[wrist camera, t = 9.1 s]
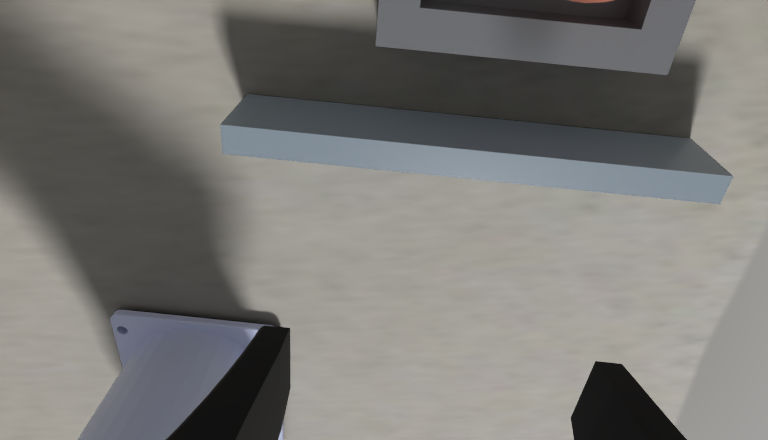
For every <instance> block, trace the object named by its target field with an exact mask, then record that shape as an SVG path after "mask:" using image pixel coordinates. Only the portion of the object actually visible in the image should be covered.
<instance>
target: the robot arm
mask: <svg viewBox="0 0 768 440" xmlns="http://www.w3.org/2000/svg"><path fill="white" fill-rule="evenodd" d="M110 321H111V325H112V329H113V332H114V336H115V340H116V344H117V347H118V351H119V355H120V359H121V362H122V366H123V369H122V371H121V372H120V374H119V375H118V377H117V378H116V380H115V382H114V383H113V385H112V386H111V388H110V389H109V391H108V393H107V394H106V396H105V397H104V399H103V400H102V402H101V404H100V405H99V407H98V408H97V410H96V411H95V413H94V415H93V416H92V418H91V419H90V421H89V422H88V424H87V426H86V427H85V429H84V430H83V432H82V434H81V435H80V437H79V438H78V440H284V415H285V410H286V405H287V401H288V396H289V391H290V328H284V327H275V326H272V325H265V324H256V323H246V322H236V321H227V320H217V319H207V318H198V317H188V316H178V315H169V314H159V313H150V312H140V311H130V310H117V311H115V312H114V314H113V315H112V316H111V318H110ZM124 327H125V328H124ZM571 422H572V428H573V435H574V440H687V439H686V438H685V437H684V436H683V435H682V434H681V433H680V432H679V430H678V429H677V428H676V427H675V426H674V425H673V423H672V422H671V421H670V420H669V419H668V418H667V417H666V415H665V414H664V413H663V412H662V411H661V410H660V408H659V407H658V406H657V405H656V404H655V403H654V401H653V400H652V399H651V398H650V397H649V395H648V394H647V393H646V392H645V391H644V390H643V388H642V387H641V386H640V385H639V384H638V382H637V381H636V380H635V379H634V378H633V377H632V375H631V374H630V373H629V372H628V371H627V370H626V369H625V367H624V366H623V365H622V364H616V363H607V362H597V361H596V362H595V364H594V366H593V368H592V371H591V373H590V375H589V378H588V380H587V382H586V384H585V387H584V389H583V391H582V394H581V396H580V398H579V401H578V403H577V405H576V407H575V410H574V412H573V414H572V417H571Z"/></svg>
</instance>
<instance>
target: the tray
mask: <svg viewBox="0 0 768 440" xmlns="http://www.w3.org/2000/svg"><path fill="white" fill-rule="evenodd" d="M695 1H696V0H613V1H608V2H599V3H581V2H574V1H568V0H379V3H378V17H377V31H376V45H375V46H378V47H388V48H399V49H409V50H419V51H429V52H439V53H449V54H459V55H469V56H479V57H489V58H499V59H509V60H519V61H529V62H539V63H549V64H559V65H569V66H580V67H590V68H600V69H610V70H620V71H630V72H640V73H650V74H660V75H668V73H669V70H670V68H671V65H672V62H673V60H674V57H675V54H676V52H677V49H678V46H679V44H680V41H681V38H682V36H683V33H684V30H685V28H686V25H687V22H688V20H689V17H690V14H691V12H692V9H693V6H694V4H695Z"/></svg>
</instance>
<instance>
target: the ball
mask: <svg viewBox="0 0 768 440" xmlns="http://www.w3.org/2000/svg"><path fill="white" fill-rule="evenodd" d="M568 1H574V2H581V3H599V2H608V1H613V0H568Z"/></svg>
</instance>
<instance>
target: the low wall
mask: <svg viewBox="0 0 768 440" xmlns="http://www.w3.org/2000/svg"><path fill="white" fill-rule="evenodd" d="M220 128H221V140H222V151H223V154H229V155H239V156H249V157H259V158H269V159H279V160H288V161H298V162H308V163H318V164H328V165H338V166H348V167H357V168H367V169H377V170H387V171H397V172H407V173H417V174H427V175H436V176H446V177H456V178H466V179H476V180H486V181H496V182H506V183H515V184H525V185H535V186H545V187H555V188H565V189H575V190H585V191H594V192H604V193H614V194H624V195H634V196H644V197H654V198H663V199H673V200H683V201H693V202H703V203H713V204H720V203H721V201H722V199H723V197H724V195H725V193H726V190H727V188H728V186H729V184H730V182H731V180H732V178H733V176H732V175H731V174H730V173H729V172H728V171H727V170H726V169H725V168H723V167H722V166H721V165H720V164H719V163H718V162H717V161H716V160H714V159H713V158H712V157H711V156H710V155H709V154H708V153H707V152H705V151H704V150H703V149H702V148H701V147H700V146H699V145H697V144H696V143H695V142H694V141H693V140H692V139H691V138H682V137H672V136H662V135H652V134H642V133H632V132H622V131H612V130H602V129H592V128H582V127H572V126H562V125H552V124H542V123H532V122H522V121H512V120H502V119H492V118H482V117H472V116H463V115H453V114H443V113H433V112H423V111H413V110H403V109H393V108H383V107H373V106H363V105H353V104H343V103H333V102H323V101H313V100H303V99H293V98H283V97H273V96H263V95H253V94H247V95H246V96H245V97H244V98H243V100H242V101H241V102H240V103H239V104H238V105H237V106H236V107H235V108H234V110H233V111H232V112H231V113H230V114H229V115H228V116H227V117H226V119H225V120H224V121H223V122H222V123H221V124H220Z"/></svg>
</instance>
